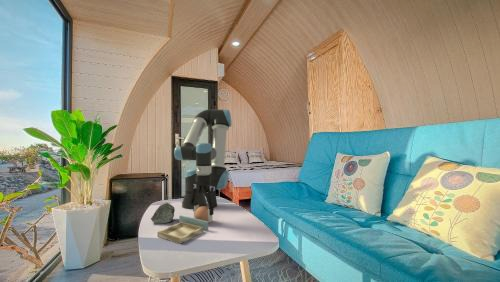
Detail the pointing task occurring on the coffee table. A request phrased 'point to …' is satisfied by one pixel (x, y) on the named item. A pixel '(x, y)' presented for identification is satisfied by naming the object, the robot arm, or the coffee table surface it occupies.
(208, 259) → the coffee table surface
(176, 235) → the tray
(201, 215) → the ball
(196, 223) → the wall
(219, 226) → the coffee table surface
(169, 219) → the stone
